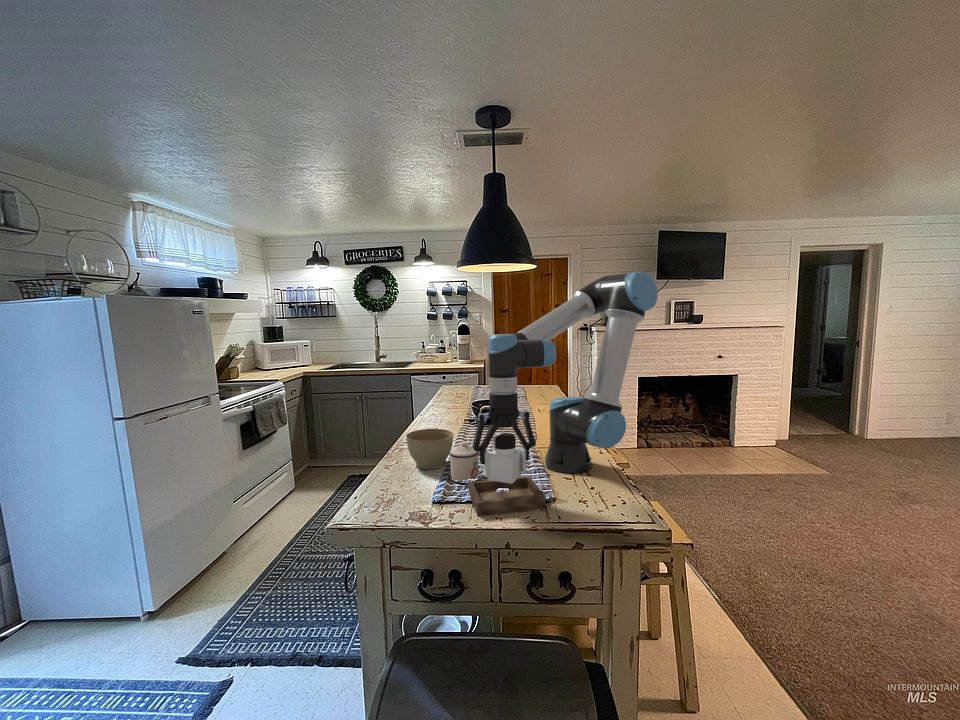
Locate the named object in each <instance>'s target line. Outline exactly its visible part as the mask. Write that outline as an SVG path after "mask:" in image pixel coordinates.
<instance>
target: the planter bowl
mask: <svg viewBox="0 0 960 720" xmlns="http://www.w3.org/2000/svg"><path fill="white" fill-rule="evenodd" d="M454 435H455V434H454V432H453V431H452V430H448V429H445V428H444V429H443V428H422V429H416V430H412V431H410V432H408V433H406V435H405V439H406V445H407V450H408V452H409V455H410V457H411V458H412V460H413V461H414V462H415V464H416V467H417V468H419V469H423V470H435V469H439V468H441V467H443V466H445V463H446V460H447V459H448V457H450V454H449V453H450V450H451V449H453V448H452V447H453V444H454Z"/></svg>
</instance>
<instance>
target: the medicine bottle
mask: <svg viewBox="0 0 960 720" xmlns="http://www.w3.org/2000/svg"><path fill="white" fill-rule="evenodd" d="M492 448H493V449H492V451H490V452H489V453H488V477H487V480H490V481H497V482H503V483H510V484H513V483H514V482H515V481H516V479H517V478H518V477H521V475H522V472H521V450H520V449H516V448H517V447H516V436H515V435H514V434H513V433H509V432H499V433H496V434H494V435H493V437H492Z"/></svg>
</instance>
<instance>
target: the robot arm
mask: <svg viewBox="0 0 960 720" xmlns="http://www.w3.org/2000/svg"><path fill="white" fill-rule="evenodd" d="M658 294H659V292H658V287H657V284H656V282H655V279H654V278H653V277H652V276H651V275H650V274H649V273H647V272H645V271H628V272H625V273H617V274H612V275H610V274H608V275H605V276H601V277H599V278H596V280H594V281H592V282H590V283H588V284H586V285H585V286H583V287H582V288H581V289H579V290H577V291H575V292H574V293H573V295H572V297H571V298H570V299H569V300H567V301H565V302H564V303H562V304H561V305H559V306H557V307H555V308H554V309H553V310H551V311H549V312H548V313H546V314H544V315H543V316H541V317H540V318H538V319H536V320H535V321H534V322H532V323H531V324H529V325H527V326H525V327H523V329H521V330H519V331H518V332H515V333H505V334H504V333H503V334H501V333H498V334H492V335H489V337H488V343H487V354H488V355H487V356H488V391H489V392H490V393H489V394H488V395H489V397H488V398H489V401H488V402H489V409H488V412H485V413H482V412H479V413H478V414H477V419H478V422H477V426H476V431H475V433H474V439H473V443H472V447H473V449H474V451H478V452H479V453H478V454H479V463H480V464H481V465H483V475H484V477H485V478H488V454H489V453H488V451H487V448H488V447H489V444H490V442H491V441H492V440H493V436H494V435H495V433H496V431H497V430H498V428H500V429H501V428H510V427H511V428H512V429H513V431H514V434H515V435H516V437H517V438H518V439H519V442H520V443H521V445H522V447H521V446H520V448H519V450H521V474H522V475H523V474H524V475H525V474H527V461H529V460H530V450H531V448H533V447H536V445H537V443H536V439H535V435H534V433H533V429H532V425H531V421H530V412H529V411H528V410H526V409H523V410H519V407H518V406H519V403H518V397H519V396H518V393H517V391H518V370H519V369H531V368H532V369H533V368H544V367H549V366H552V365H553V364H554V363H555V362H556V359H557V348H556V345H555V343H554V342H553V341H552V340H553V339H554V338H555V337H557V336H558V335H560V334H561V333H563V332H565V331H566V330H568V329H569V328H571V327H572V326H574V325H576V324H577V323H578V322H580V321H582V320H583V319H585V318H586V319H590V318H592V317H593V316H595V315H597V314H601V313H604V314H605V316H606V317H607V321H606V326H605V330H604V334H603V338H602V342H601V347H600V351H599V355H598V358H597V361H596V367H595V371H594V375H593V380H592V383H591V387H590V390H589V393H588V394H585V396H565V397H564V396H563V397H557V398H553V399H552V400H550V402H549V410H548V411H549V441H550V442H549V444H548V448H547V451H546V454H545V457H544V463H545V464H544V466H545V467H546V468H547V469H549V470H551V471H554V472H558V473H563V474H577V473H584V472H586V471H589V470H591V468H592V459H591V455H590V453H589V449H588V447H587V444H588V445H590V446H592V447H595V448H600V449H611V448H614V447H615V446H616V445H617V444H619V443H620V442H621V441H622V440H623V437H624V435H625V434H626V431H627V421H626V418H625V416H624V414H622V410H623V406H622V404H621V402H620V400H619V399H620V395H621V391H622V387H623V383H624V378H625V374H626V371H627V367H628V366H627V365H628V363H629V362H628V361H629V357H630V354H631V350H632V345H633V342H634V337H635V333H636V329H637V325H638V324H639V323H640V322H642V321H644V319H645V315H646V311H649V310H652V308H653V307H655V306H656V304H657V301H658V296H659V295H658ZM518 417H520V419H522V423H523V426H524V430H525V433H526V436H527V440H526V438H525V436H524V435H523V433H522V431H521V430H520V428H519V425H518V424H517V422H516V421H517V419H518ZM488 419H490V420H491V423H490V424H489V427H488V430H487V431H486V434H485V436H484V438H483V439H482V437H483V432H484V427H485V422H487V420H488Z"/></svg>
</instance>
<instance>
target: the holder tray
mask: <svg viewBox="0 0 960 720" xmlns="http://www.w3.org/2000/svg"><path fill="white" fill-rule="evenodd" d="M498 488H508V489H509V491H508V492H506V491H505V492H504V491H502V492H495V491H496V490H497V489H498ZM469 493H470V496H471V498H470V500H472V501H471V503H472V506H473V509H474V511H475V514H476V517H483V516H493V515H501V514H509V513H519V512H521V513H522V512H527V511H529V512H530V511H536V510H537V511H538V510H546V495H545V494H544V492H543V491H542V490H541V489H540V488H539V486H538V484H536V483H535V481H534V480H533V479H532V478H531V476H519V477H518V478H517V479H516V481H515V482H514V483H513V484H510V483H503V482H497V481H490V480H488V479H486V480H477V481H475V482H469V483H468V494H469ZM470 496H469V497H470Z"/></svg>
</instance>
